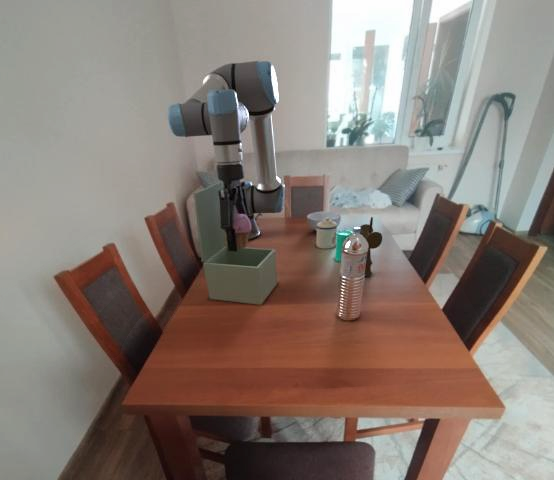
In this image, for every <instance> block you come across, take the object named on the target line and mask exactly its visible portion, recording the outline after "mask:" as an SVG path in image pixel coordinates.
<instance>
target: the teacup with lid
mask: <svg viewBox="0 0 554 480" xmlns="http://www.w3.org/2000/svg"><path fill="white" fill-rule="evenodd" d="M316 227H317V231H316V239H315V241H316V242H315V243H316V244H315V245H316V247H317V248H319V249H325V250H327V249H333V248H336V241H337V232H338V226H337V223H335V222H332V221H331V220H329V218H325V220H323V221H322V222H319V223H318V224H317V225H316Z"/></svg>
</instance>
